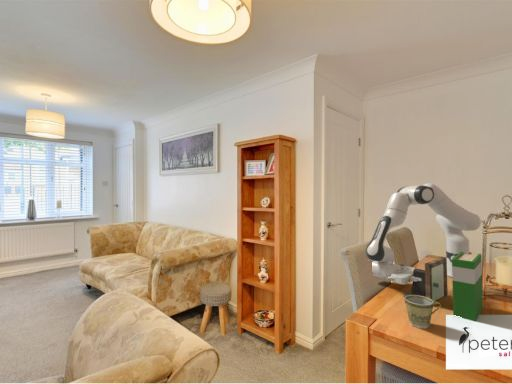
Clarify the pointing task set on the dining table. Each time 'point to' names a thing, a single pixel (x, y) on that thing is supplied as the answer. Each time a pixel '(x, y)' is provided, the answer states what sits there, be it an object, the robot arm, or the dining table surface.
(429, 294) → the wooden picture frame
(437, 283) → the door
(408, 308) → the ceramic cup
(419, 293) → the door stopper
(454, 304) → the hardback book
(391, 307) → the dining table surface
